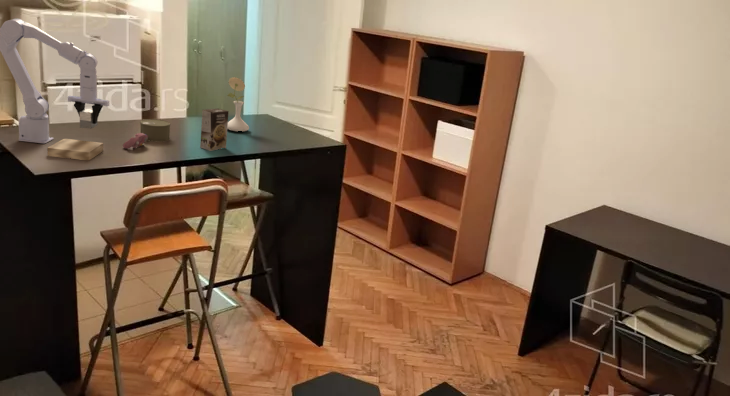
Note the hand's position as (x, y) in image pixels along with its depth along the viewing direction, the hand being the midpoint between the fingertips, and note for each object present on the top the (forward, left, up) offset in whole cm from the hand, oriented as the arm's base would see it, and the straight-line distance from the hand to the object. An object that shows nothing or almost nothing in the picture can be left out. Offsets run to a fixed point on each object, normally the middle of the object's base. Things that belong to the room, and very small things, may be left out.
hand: (88, 122), depth 223 cm
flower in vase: (+49, +51, -8) cm, 71 cm away
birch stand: (+1, -15, -8) cm, 17 cm away
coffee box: (+45, +14, -8) cm, 48 cm away
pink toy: (+17, +2, -9) cm, 19 cm away
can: (+20, +19, -9) cm, 29 cm away
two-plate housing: (0, 0, -2) cm, 2 cm away
